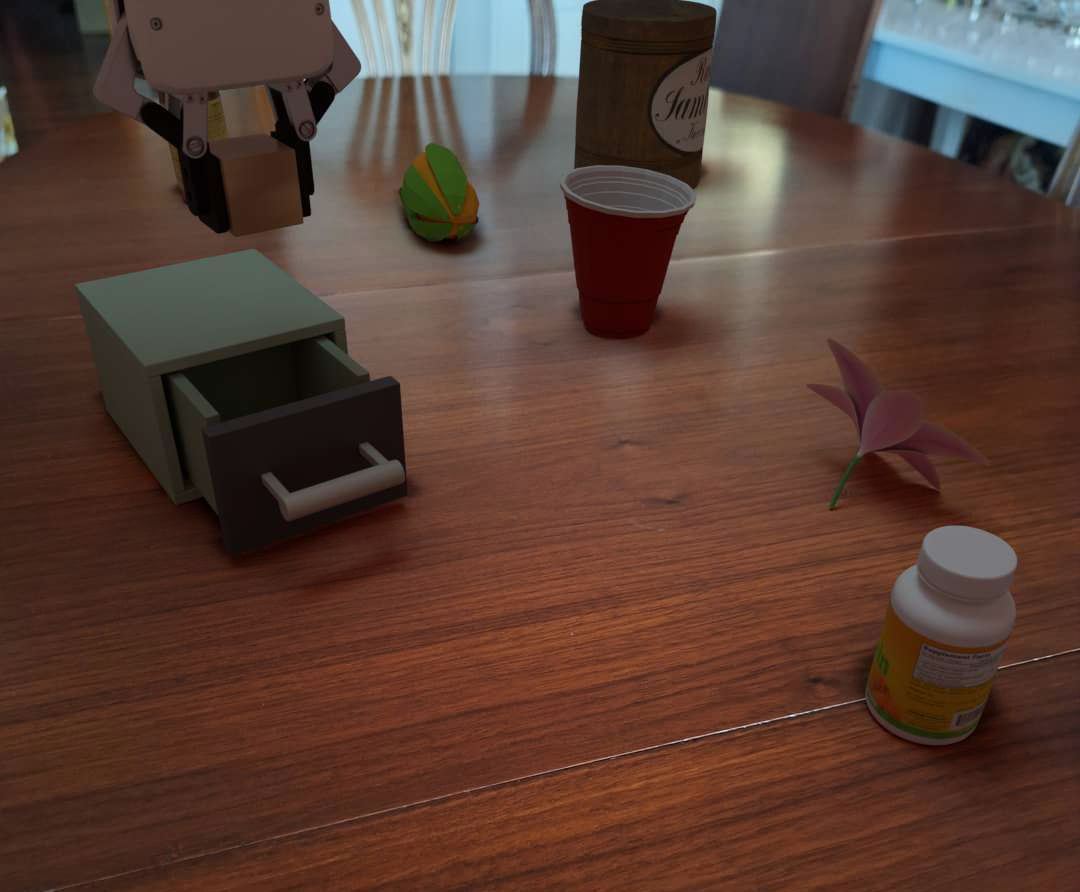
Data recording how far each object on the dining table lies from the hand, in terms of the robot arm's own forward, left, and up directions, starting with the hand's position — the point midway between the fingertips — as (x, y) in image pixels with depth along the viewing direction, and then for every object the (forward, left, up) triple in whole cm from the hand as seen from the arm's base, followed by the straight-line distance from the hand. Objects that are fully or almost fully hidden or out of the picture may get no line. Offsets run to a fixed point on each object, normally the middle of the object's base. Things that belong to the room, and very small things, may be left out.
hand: (254, 214), depth 57 cm
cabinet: (-1, +8, -17) cm, 19 cm away
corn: (+33, +38, -17) cm, 54 cm away
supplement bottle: (+17, -37, -17) cm, 44 cm away
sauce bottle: (+16, +58, -17) cm, 63 cm away
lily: (+31, -22, -17) cm, 42 cm away
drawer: (-1, -2, -16) cm, 17 cm away
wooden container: (+61, +39, -17) cm, 75 cm away
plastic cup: (+33, +7, -17) cm, 38 cm away
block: (0, 0, 0) cm, 0 cm away
